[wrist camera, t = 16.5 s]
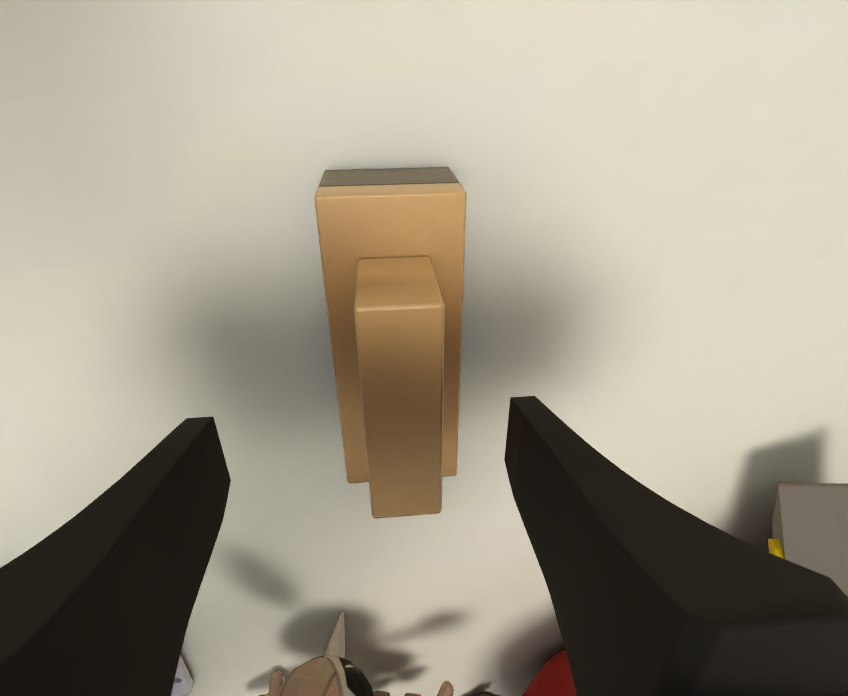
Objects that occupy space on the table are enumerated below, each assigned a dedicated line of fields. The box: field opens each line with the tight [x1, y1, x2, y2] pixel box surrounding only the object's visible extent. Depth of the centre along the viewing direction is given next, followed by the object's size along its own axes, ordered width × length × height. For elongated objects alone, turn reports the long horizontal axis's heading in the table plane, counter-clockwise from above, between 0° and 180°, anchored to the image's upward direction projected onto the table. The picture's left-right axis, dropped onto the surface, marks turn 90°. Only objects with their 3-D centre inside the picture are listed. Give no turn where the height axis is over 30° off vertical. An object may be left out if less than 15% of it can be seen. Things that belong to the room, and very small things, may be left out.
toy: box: [259, 612, 454, 696], centre depth 21 cm, size 13×7×15 cm
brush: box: [314, 167, 466, 518], centre depth 14 cm, size 9×4×6 cm, turn 0°
